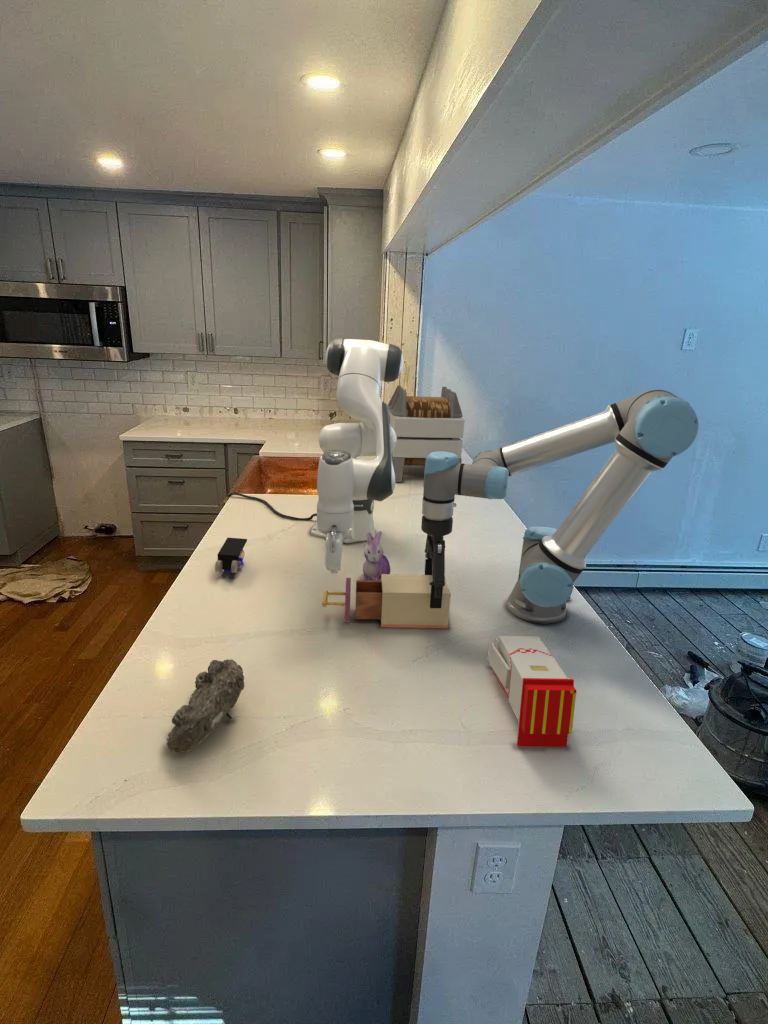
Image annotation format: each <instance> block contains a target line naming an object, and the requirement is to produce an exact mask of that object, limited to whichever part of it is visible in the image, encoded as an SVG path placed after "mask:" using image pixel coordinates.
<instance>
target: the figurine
mask: <svg viewBox="0 0 768 1024" xmlns="http://www.w3.org/2000/svg"><path fill="white" fill-rule="evenodd" d="M382 536H383V532H382V530H379V531H378V532H376V535H375V537H372V535H371V533H370V532H367V534H366V538H367V540H366V545H365V548H364V550H363V556H364V559H365V560H364V562H363V564H362V577H361V580H373V581H381V574H391V565H390V560H389V559H388V557H387V556H386V555H385V554H384V550H383V547H382V546H381V541H382Z"/></svg>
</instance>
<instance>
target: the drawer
mask: <svg viewBox="0 0 768 1024" xmlns="http://www.w3.org/2000/svg"><path fill="white" fill-rule="evenodd" d="M351 581H352V577H345V591H342V592H341V591H328V590H327V589H326V590H323V594H322V600H321V602H322V603H321V606H322V607H323V608H326V607H328V606H331V607H332V606H333V607H335V606H337V607H339V606H340V607H342V606H343V607H344V623H350V619H351V595H352V594H351V588H352V587H351V586H352V582H351ZM329 596H344V602H333V601H332V602H329ZM354 612H355V616H354V617H355V618H354V619H355V620H381V613H382V581H373V580H362V579H356V580H355V611H354Z"/></svg>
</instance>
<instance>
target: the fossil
mask: <svg viewBox="0 0 768 1024" xmlns="http://www.w3.org/2000/svg"><path fill="white" fill-rule="evenodd" d="M243 670H244V669H243V667H242V665H240V664H237V662H236V661H235V660H234V659H232V658H231V659H227V658H226V659H224V660H223V661H222V660H217V659H212V660H211V661H210V663H209V665H208V666H207V671H201V672H199V673H198V674H197V675H196V676H195V680H194V684H195V685H194V687H195V689H194V690H193V693H192V694H191V697H190V698H189V700H188V704H184V705H182V706H181V707H180V709H177V710H176V711H175V713H174V715H173V716H172V718H171V723H172V724H173V727H172V730H171V731H170V732H168V734H167V738H166V741H167V742H166V745H167V749H168V750H169V751H173V752H174V753H176V754H178V753H182V752H188V751H189V752H192V751H193V750H195V748H196V747H197V746H199V744H200V743H201V742H203V741H204V740H205V739H206V738H207V737H208V736H209V735H210V734H211V733H212V732H214V730H215V729H217V727H218V726H219V724H220V722H221V721H222V720H223V719H224V718H225V716H226V717H227V719H229V720H233V717H232V715H230V714H229V710H230V709H231V708H234V706H235V704H236V703H237V702H238V699H239V697H240V695H241V693H242V691H243V690H245V689H244V688H245V675H244V671H243Z"/></svg>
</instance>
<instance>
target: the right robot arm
mask: <svg viewBox="0 0 768 1024" xmlns="http://www.w3.org/2000/svg"><path fill="white" fill-rule="evenodd" d="M698 433H699V418H698V415H697V413H696V411H695V410H694V408H693V407H692V406H691V404H690V403H689V402H688V401H686V400H685V399H684V398H682V397H680V396H678V395H676V394H674V393H672V392H670V391H669V390H665V389H660V388H659V389H657V388H656V389H655V388H654V389H649V390H645V391H642V392H640V393H637V394H635V395H632V396H630V397H626V398H624V399H622V400H619V401H617V402H614V403H611V404H608V405H607V407H606V409H605V410H604V411H601V412H599V413H595V414H592V415H590V416H588V417H584V418H581V419H579V420H576V421H573V422H570V423H567V424H564V425H561V426H558V427H556V428H553V429H550V430H547V431H544V432H541V433H539V434H535V435H533V436H530V437H527V438H524V439H522V440H518V441H516V442H512V443H509V444H507V445H504V446H502V447H498V448H495V449H485V450H481V451H480V452H479V453H478V454H477V455H475V456H474V458H473V460H472V463H462V462H461V463H458V457H457V455H456V454H454V453H449V452H444V451H437V452H432V453H430V454H428V455H427V457H426V464H425V466H424V471H423V493H422V496H423V497H422V503H421V505H422V506H421V515H422V516H421V523H420V524H421V525H420V527H421V528H420V529H421V531H422V532H423V533H424V534H426V540H425V541H426V542H425V546H424V547H425V548H424V553H425V554H424V557H425V561H424V562H425V563H424V574H423V575H432V581H433V582H430V583H429V584H430V585H431V597H430V608H441V605H442V592H443V586H445V577H446V575H445V574H446V573H445V571H446V569H445V566H446V563H445V561H446V560H445V558H446V557H445V555H446V540H445V539H444V537H445V536H448V535H450V534H451V533H452V531H453V525H454V524H453V523H454V518H453V516H454V508H456V507H457V503H456V502H455V498H456V497H455V496H462V497H463V496H464V497H472V498H480V499H488V500H504V499H505V498H506V496H507V491H508V484H509V477H512V476H514V475H517V474H520V473H523V472H526V471H529V470H533V469H535V468H538V467H542V466H546V465H548V464H552V463H555V462H557V461H560V460H563V459H567V458H570V457H572V456H575V455H579V454H582V453H584V452H585V453H586V452H589V451H591V450H594V449H598V448H600V447H603V446H606V445H607V446H608V445H610V444H612V443H615V450H614V452H613V453H612V454H611V455H610V457H609V458H608V460H607V461H606V462H605V463H604V465H603V466H602V468H601V469H600V471H599V472H598V473H597V475H596V476H595V478H594V479H593V480H592V481H591V483H590V484H589V486H588V487H587V488H586V490H585V491H584V492H583V493H582V494H581V496H580V498H579V499H578V501H577V502H576V503H575V504H574V506H573V507H572V509H570V512H569V513H568V514H567V515H566V517H565V518H564V519H563V521H562V522H561V524H560V525H559V527H557V528H555V527H549V526H530V527H528V528H526V529H525V531H524V534H523V536H522V539H523V540H522V547H521V554H520V561H519V569H518V576H517V580H516V583H515V584H514V586H513V588H512V590H511V592H510V594H509V596H508V598H507V607H508V610H509V611H510V612H511V614H513V615H514V616H515V617H517V618H519V619H521V620H524V621H527V622H530V623H535V624H541V625H549V624H550V625H551V624H556V623H559V622H561V621H563V620H564V619H565V618H566V615H567V609H568V607H567V603H566V602H567V601H568V600H570V599H571V595H572V594H573V590H574V583H575V581H576V580H577V579H578V578H579V576H580V575H581V574H582V573H583V571H585V569H586V567H587V562H586V556H587V555H588V553H590V551H591V550H592V549H593V547H594V546H595V545H596V543H597V542H598V541H599V540H600V539H601V537H602V536H603V535H604V533H605V532H606V531H607V529H608V528H609V527H610V525H611V524H612V523H613V522H614V521H615V519H616V518H617V516H618V515H619V514H620V513H621V511H622V510H623V509H624V507H626V505H627V504H628V502H630V500H631V498H632V497H633V496H634V495H635V494H636V492H637V491H638V490H639V488H640V487H641V486H642V485H643V483H644V482H645V481H646V480H647V478H648V477H649V476H650V474H651V473H653V472H656V471H661V470H664V469H665V467H666V466H667V465H668V464H669V462H670V461H671V460H672V458H674V457H676V456H679V455H682V453H684V452H686V451H687V450H688V449H689V448H690V447H691V446H692V444H694V442H695V440H696V439H697V436H698Z"/></svg>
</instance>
